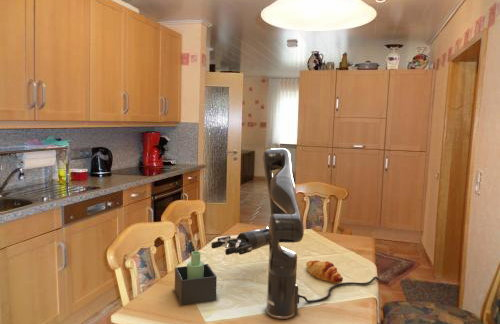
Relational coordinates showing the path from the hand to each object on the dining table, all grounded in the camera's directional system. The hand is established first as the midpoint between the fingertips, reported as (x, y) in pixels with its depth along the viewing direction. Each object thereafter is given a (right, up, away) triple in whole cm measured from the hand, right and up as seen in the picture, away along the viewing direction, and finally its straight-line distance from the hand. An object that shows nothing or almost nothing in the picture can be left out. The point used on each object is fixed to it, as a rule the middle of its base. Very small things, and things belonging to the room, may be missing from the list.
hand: (218, 248), depth 144 cm
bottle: (-8, -15, -5) cm, 18 cm away
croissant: (+42, -15, +16) cm, 47 cm away
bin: (-8, -15, -5) cm, 18 cm away
